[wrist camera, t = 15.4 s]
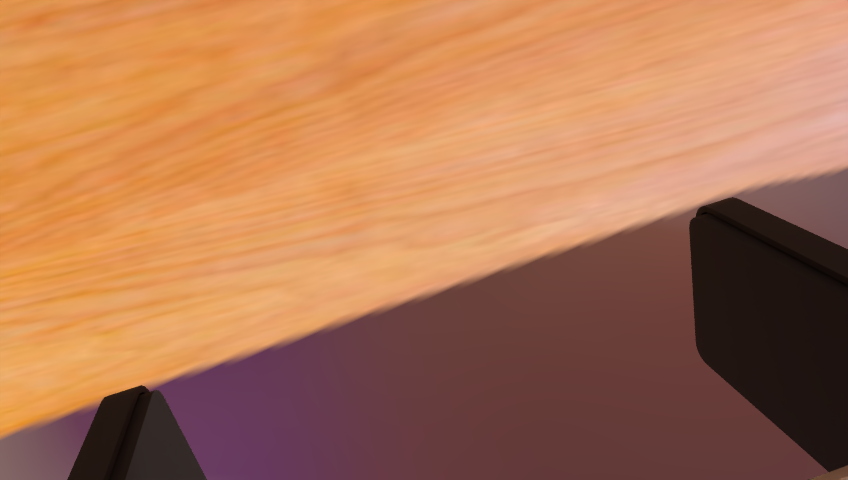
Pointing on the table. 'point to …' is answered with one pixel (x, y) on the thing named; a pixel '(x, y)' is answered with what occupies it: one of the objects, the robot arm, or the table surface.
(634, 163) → the table surface
